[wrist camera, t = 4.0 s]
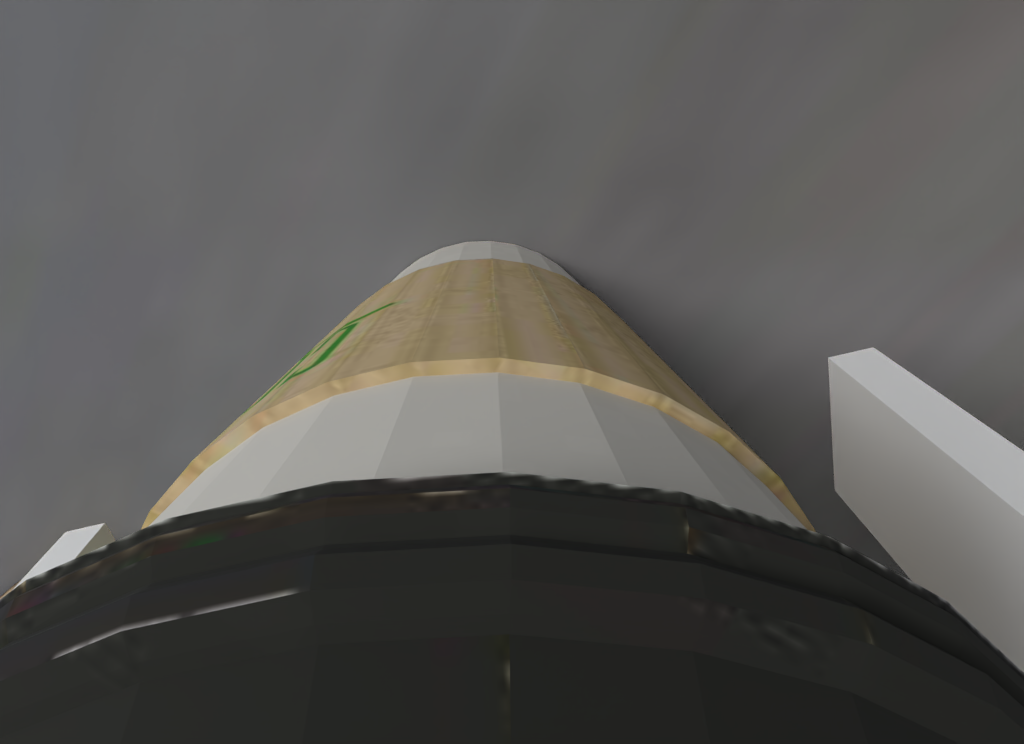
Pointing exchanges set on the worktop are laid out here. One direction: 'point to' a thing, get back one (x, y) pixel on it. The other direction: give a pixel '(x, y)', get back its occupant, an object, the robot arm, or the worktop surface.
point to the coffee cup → (488, 561)
